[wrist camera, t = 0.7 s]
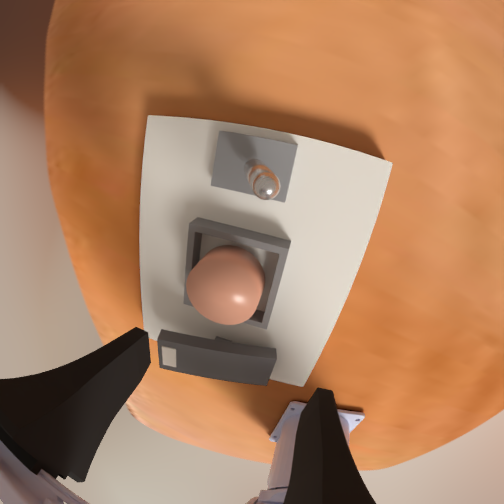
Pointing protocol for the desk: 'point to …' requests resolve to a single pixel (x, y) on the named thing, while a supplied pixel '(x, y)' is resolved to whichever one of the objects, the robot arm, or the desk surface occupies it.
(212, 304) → the push button
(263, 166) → the toggle lever
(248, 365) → the rocker switch
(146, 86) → the desk surface
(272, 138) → the switch panel
